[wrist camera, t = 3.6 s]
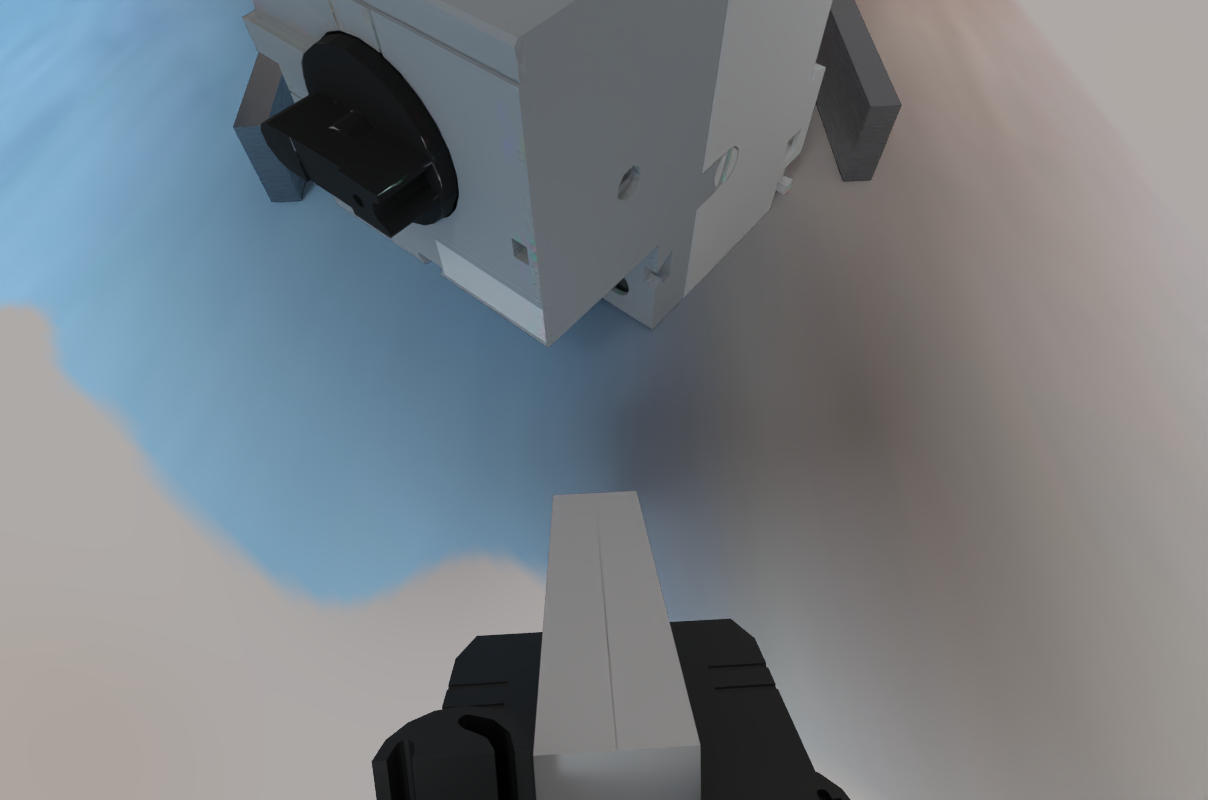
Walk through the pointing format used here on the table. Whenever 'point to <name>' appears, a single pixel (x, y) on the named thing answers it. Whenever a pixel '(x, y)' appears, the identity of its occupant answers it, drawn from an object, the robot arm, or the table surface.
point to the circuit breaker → (549, 136)
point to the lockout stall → (845, 102)
